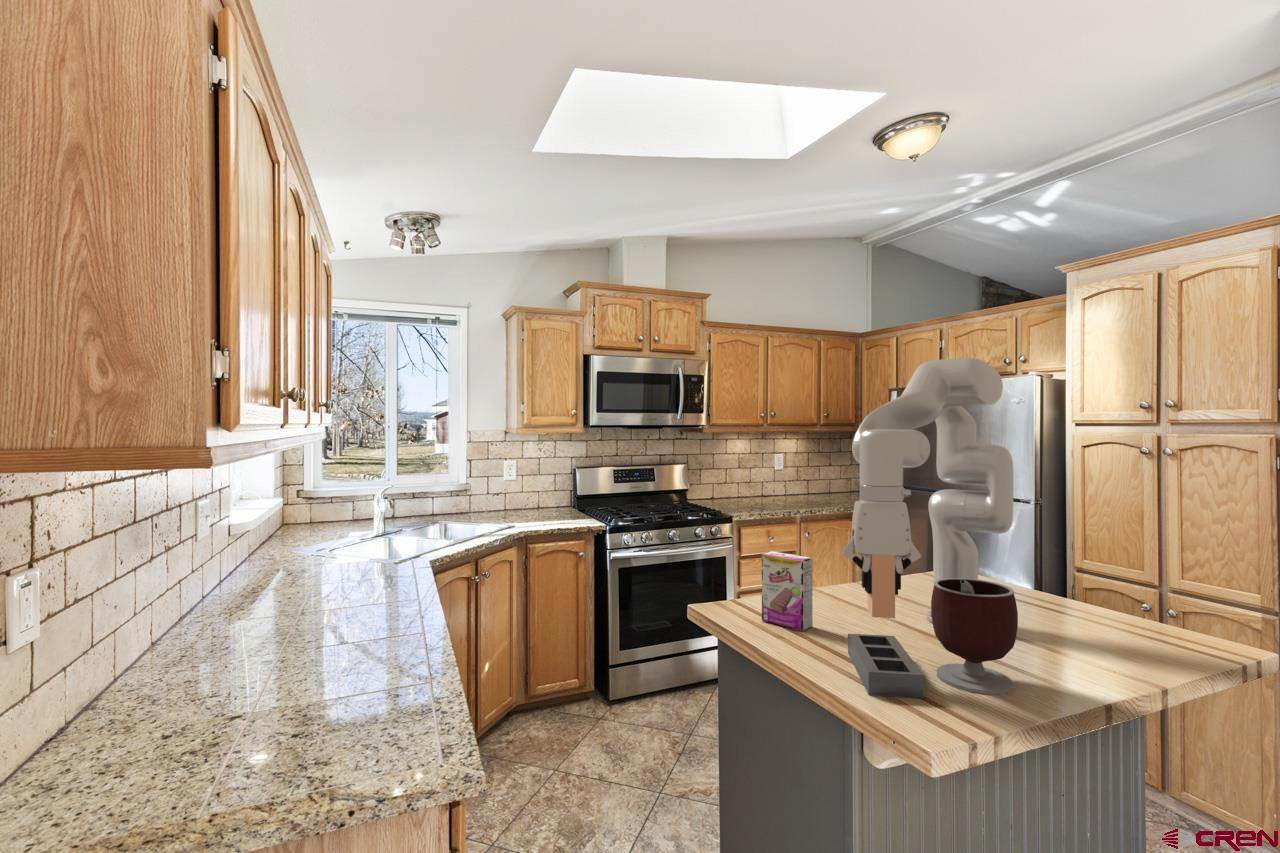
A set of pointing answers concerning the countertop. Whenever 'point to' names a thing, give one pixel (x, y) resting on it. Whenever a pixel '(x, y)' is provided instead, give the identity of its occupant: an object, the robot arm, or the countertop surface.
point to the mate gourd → (974, 631)
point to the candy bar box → (787, 590)
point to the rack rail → (885, 666)
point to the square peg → (882, 586)
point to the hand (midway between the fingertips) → (881, 591)
